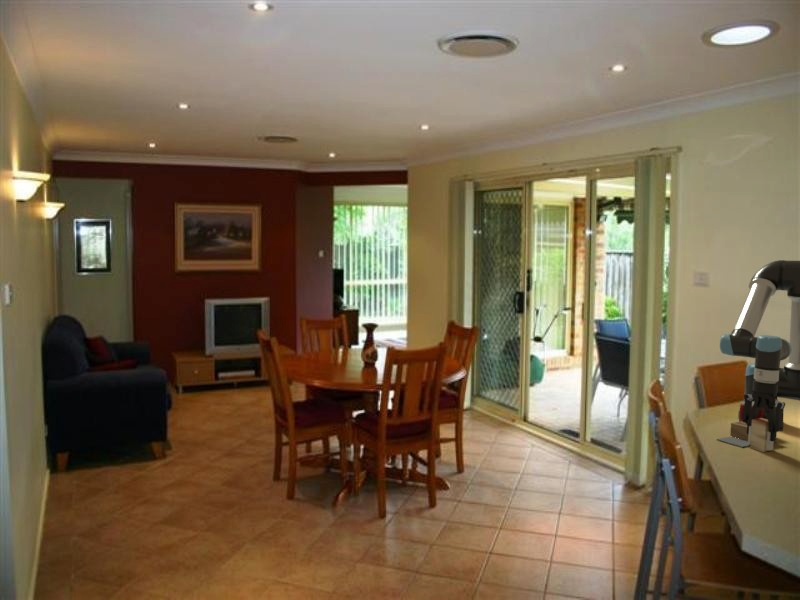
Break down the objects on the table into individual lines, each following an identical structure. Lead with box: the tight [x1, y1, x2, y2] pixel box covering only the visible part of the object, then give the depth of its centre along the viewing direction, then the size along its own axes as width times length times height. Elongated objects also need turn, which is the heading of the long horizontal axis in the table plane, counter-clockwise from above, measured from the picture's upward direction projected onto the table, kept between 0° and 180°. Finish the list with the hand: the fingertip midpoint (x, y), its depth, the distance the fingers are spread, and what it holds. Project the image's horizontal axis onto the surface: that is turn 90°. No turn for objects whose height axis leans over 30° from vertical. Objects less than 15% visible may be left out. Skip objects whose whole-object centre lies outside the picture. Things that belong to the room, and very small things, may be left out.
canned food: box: [738, 400, 764, 422], centre depth 253 cm, size 8×8×11 cm
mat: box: [716, 436, 750, 448], centre depth 239 cm, size 8×10×1 cm
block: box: [749, 418, 772, 453], centre depth 232 cm, size 5×5×10 cm
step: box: [729, 421, 776, 444], centre depth 243 cm, size 8×12×5 cm, turn 28°
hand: (760, 446), depth 232 cm, fingers open, 6 cm apart
